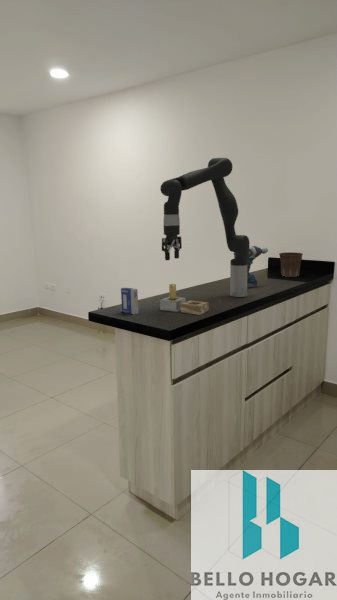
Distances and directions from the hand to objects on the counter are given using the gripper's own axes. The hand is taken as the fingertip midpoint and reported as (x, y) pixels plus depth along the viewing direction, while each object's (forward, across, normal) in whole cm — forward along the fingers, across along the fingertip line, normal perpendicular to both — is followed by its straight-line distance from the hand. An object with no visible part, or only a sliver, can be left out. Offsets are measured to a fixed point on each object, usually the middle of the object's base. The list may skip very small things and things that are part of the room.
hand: (172, 259), depth 195 cm
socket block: (+24, 0, 0) cm, 24 cm away
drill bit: (+24, 0, 0) cm, 24 cm away
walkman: (+24, +16, -14) cm, 32 cm away
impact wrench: (+24, -73, +12) cm, 78 cm away
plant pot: (+24, -125, +22) cm, 129 cm away
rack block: (+24, 0, +12) cm, 27 cm away
